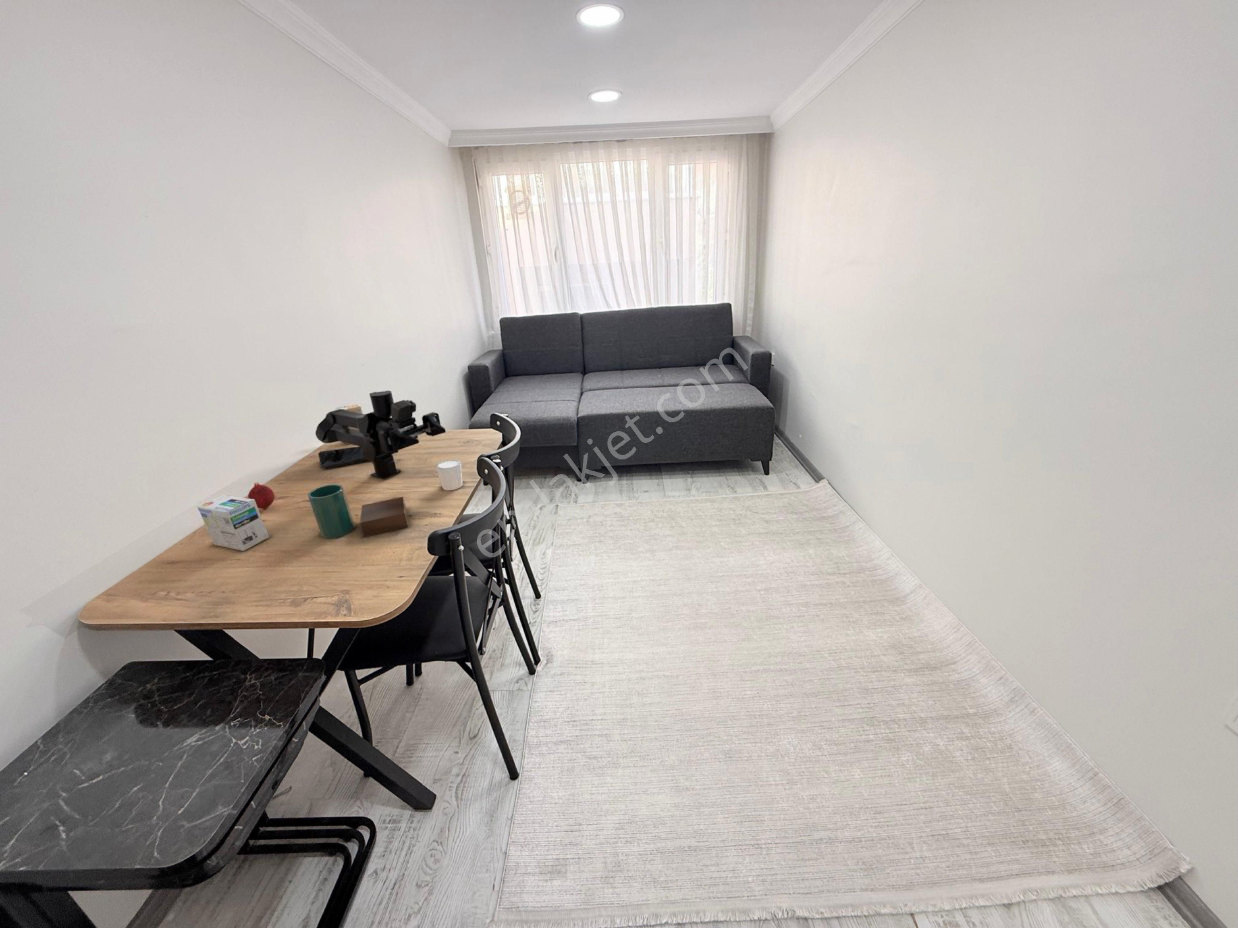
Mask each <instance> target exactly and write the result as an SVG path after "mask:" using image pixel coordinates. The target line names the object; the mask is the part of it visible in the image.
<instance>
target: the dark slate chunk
mask: <svg viewBox="0 0 1238 928" xmlns="http://www.w3.org/2000/svg"><path fill="white" fill-rule="evenodd" d="M364 449H365V447H360V446H351V447H342V448H336V449H335V448H334V449H327V450H320V451H319V452H318V453H317V454H318V458H319V463H320V468H321V469H327V470H328V469H330V468H334V467H338V468H339V467H343V466H348V465H352V464H357V463H362V462H366V461H368V460H365V458H364V456H363V454H362V453H363V451H364Z"/></svg>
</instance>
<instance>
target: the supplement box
mask: <svg viewBox="0 0 1238 928" xmlns="http://www.w3.org/2000/svg"><path fill="white" fill-rule="evenodd" d="M334 409H335V410H338V409H344V410H345V411H351V412H356V413H361V414H364V413H363V409H362V406H361V404H360V403H356V404H355V403H354V404H350V405H344V406H339V407H338V406H337V407H335V408H334ZM335 410H334V411H335ZM348 428H350V429H355V430H359V429H357V428H353V427H348ZM345 445H349V444H348V443H345Z"/></svg>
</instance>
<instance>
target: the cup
mask: <svg viewBox="0 0 1238 928" xmlns="http://www.w3.org/2000/svg"><path fill="white" fill-rule="evenodd" d="M307 497H308V500H309V503H310V506H311V509H312V512H313V516H314V518H315V521H316V524H317V527H318V530H319V534H320V536H321V537H322V538H324V539H335V538H340V537H343V536H346V535H347V534H349V533H350V532H352V531H353V530H354V528H355V523H354V520H353V517H352V513H351V510H350V506H349V503H348V500H347V496H346V493H345V489H344V487H343V485H341V484H337V483H336V484H335V483H334V484H326V485H322V486H319V487H316V488H314V489H312V490H310V491H309V492H308V494H307Z"/></svg>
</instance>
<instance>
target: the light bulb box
mask: <svg viewBox="0 0 1238 928" xmlns="http://www.w3.org/2000/svg"><path fill="white" fill-rule="evenodd" d="M196 508H197V510H198V512H199V514H200V516H201V518H202V521H203V523H204V525H205V528H206V531H207V532H208V534H209V536H210V538H211V542H212V543H213V545H214V546H220V547H222V548H223V547H224V548H227V549H232V550H237V551H242V552H245V551H246V550H249V549H250V548H252V547H253V546H256V545H257V544H259V543H261V542H263V541H265V540H267V539H268V538H270V535H269V533H268V530H267V528H266V526H265V523H264V520H263V518H262V515H261V512H260V509H259V508H258V507H257V505H256V502H255V499H249V498H248V497H240V496H233V495H227V494H223V495H221V496H217V497H215V498H212V499H211V500H209V501H206V502H204V503H201V504H199V505H197V507H196Z"/></svg>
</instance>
